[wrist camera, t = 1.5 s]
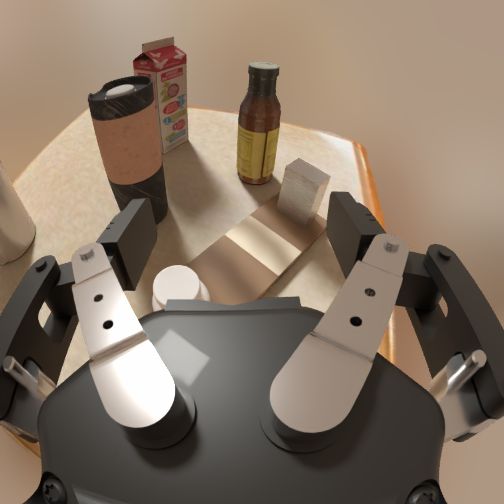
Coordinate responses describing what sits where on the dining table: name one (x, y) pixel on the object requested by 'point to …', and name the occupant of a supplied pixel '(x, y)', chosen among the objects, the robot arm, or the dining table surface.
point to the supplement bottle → (177, 286)
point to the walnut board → (254, 255)
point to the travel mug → (130, 141)
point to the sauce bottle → (258, 125)
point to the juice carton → (166, 89)
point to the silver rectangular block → (302, 192)
